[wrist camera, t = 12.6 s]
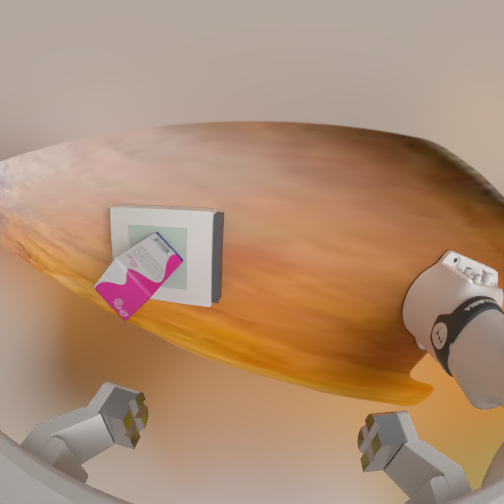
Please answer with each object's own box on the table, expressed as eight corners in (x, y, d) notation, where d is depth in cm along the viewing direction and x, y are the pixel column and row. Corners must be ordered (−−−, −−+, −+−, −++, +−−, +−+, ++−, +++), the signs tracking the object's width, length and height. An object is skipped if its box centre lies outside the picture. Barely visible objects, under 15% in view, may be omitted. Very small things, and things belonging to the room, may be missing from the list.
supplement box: (133, 256, 40) (90, 286, 29) (157, 230, 38) (116, 254, 27) (159, 285, 41) (124, 323, 30) (185, 260, 39) (153, 295, 28)
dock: (224, 209, 40) (219, 212, 37) (220, 299, 44) (216, 308, 41) (119, 204, 41) (108, 207, 38) (124, 286, 45) (115, 294, 42)
